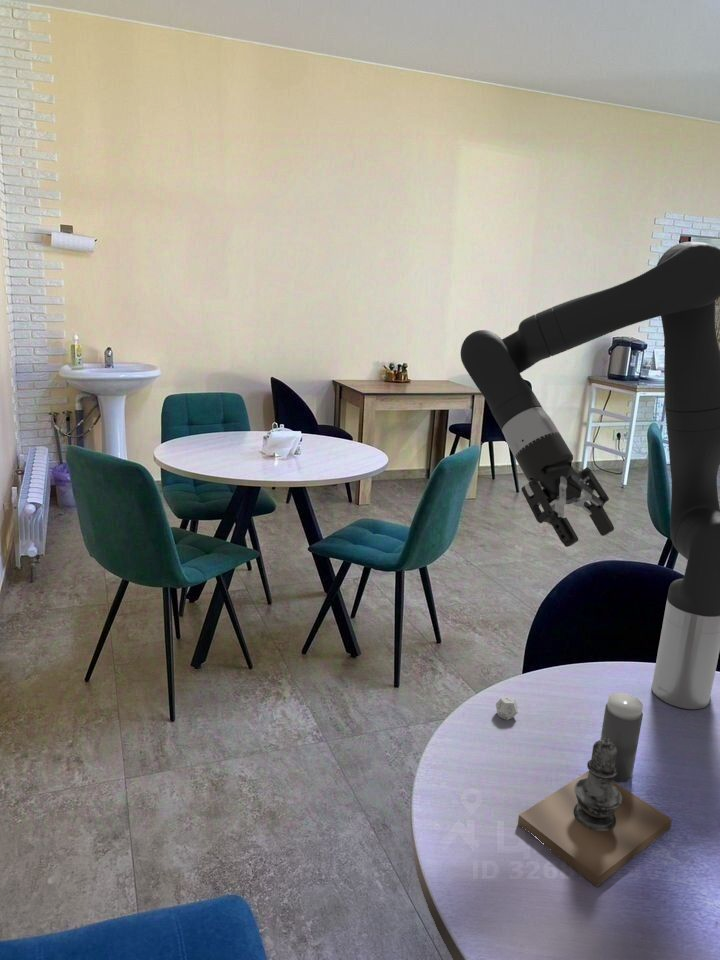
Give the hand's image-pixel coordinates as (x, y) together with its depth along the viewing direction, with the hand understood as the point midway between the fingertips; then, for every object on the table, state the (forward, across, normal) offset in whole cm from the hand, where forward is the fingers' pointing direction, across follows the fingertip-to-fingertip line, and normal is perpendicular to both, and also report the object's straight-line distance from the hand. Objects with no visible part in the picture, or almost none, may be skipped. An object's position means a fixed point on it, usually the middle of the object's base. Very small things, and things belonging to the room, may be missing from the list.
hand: (591, 538), depth 102 cm
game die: (+17, -4, +29) cm, 34 cm away
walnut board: (+33, -13, +13) cm, 38 cm away
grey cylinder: (+30, -1, +16) cm, 34 cm away
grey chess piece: (+32, -13, +12) cm, 37 cm away
